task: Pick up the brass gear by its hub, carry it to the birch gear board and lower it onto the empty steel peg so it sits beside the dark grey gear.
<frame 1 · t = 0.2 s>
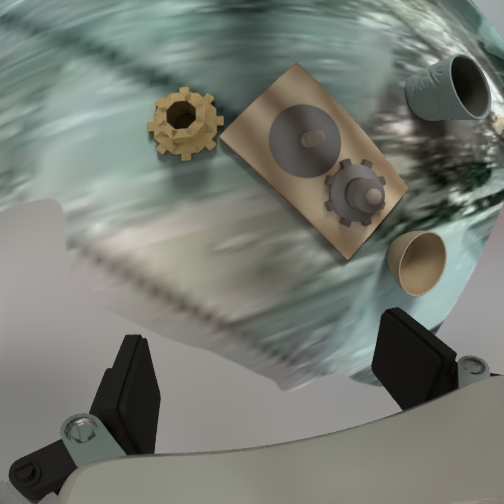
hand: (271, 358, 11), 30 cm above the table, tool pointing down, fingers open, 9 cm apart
gear board: (322, 161, 39), on the table
flower pot: (398, 251, 45), on the table
brass gear: (185, 124, 35), on the table
grey cup: (422, 95, 39), on the table
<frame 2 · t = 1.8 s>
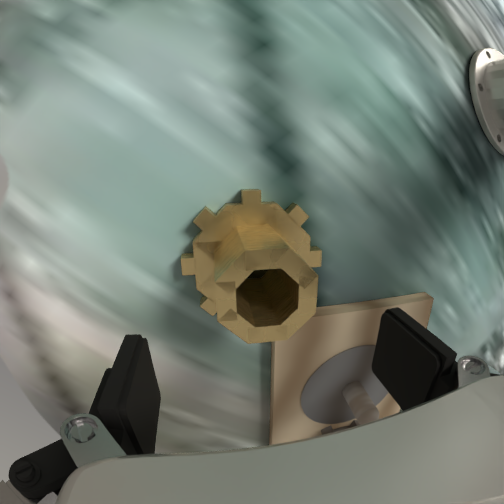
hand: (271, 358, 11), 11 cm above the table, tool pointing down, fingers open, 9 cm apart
gear board: (339, 405, 27), on the table
brass gear: (251, 257, 22), on the table
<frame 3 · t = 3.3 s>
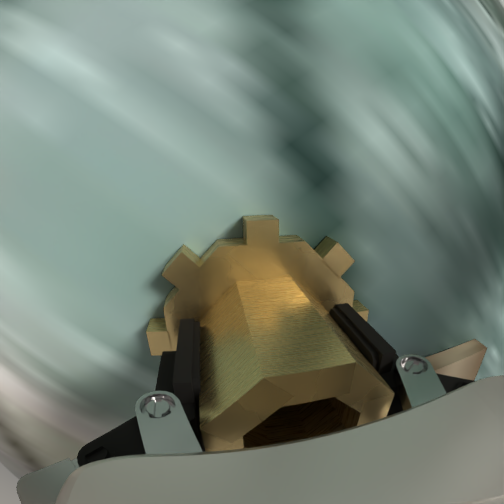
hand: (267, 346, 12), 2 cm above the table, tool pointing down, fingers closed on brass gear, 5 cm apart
gear board: (362, 470, 19), on the table
brass gear: (259, 323, 13), on the table, touching gripper
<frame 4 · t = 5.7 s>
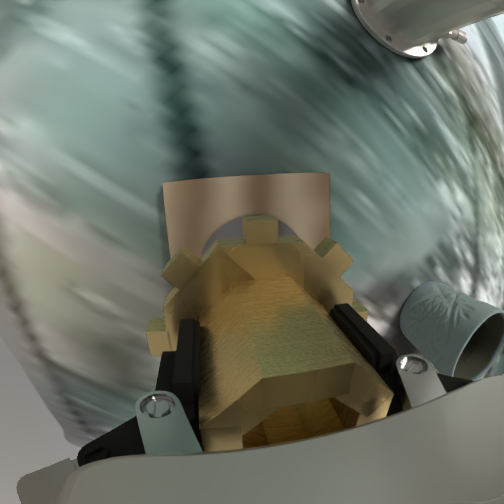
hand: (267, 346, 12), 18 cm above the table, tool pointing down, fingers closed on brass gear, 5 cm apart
gear board: (253, 301, 30), on the table
brass gear: (258, 323, 13), point 16 cm above the table, touching gripper
grey cup: (424, 308, 35), on the table
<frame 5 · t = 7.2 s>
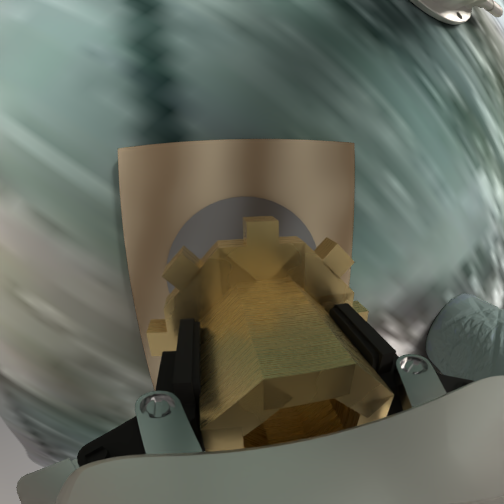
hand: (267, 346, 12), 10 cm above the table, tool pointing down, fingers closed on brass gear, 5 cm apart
gear board: (243, 318, 22), on the table
brass gear: (259, 323, 13), point 8 cm above the table, touching gripper
grey cup: (453, 326, 26), on the table
when the fingers open (5 cm above the table, at t = 8.5 s): brass gear drops 1 cm, resting on gear board.
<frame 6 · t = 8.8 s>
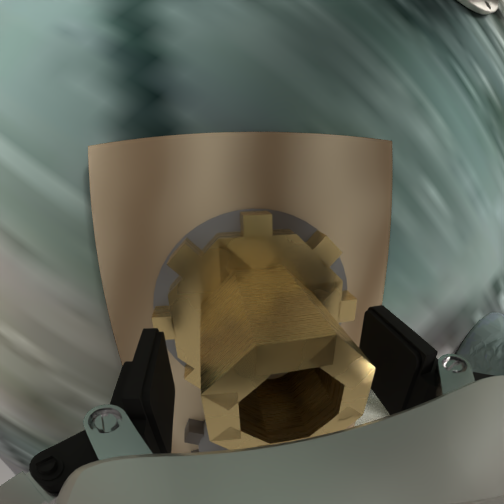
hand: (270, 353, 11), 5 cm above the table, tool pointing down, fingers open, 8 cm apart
gear board: (251, 356, 17), on the table
brass gear: (255, 310, 15), point 2 cm above the table, touching gear board
grey cup: (479, 347, 22), on the table
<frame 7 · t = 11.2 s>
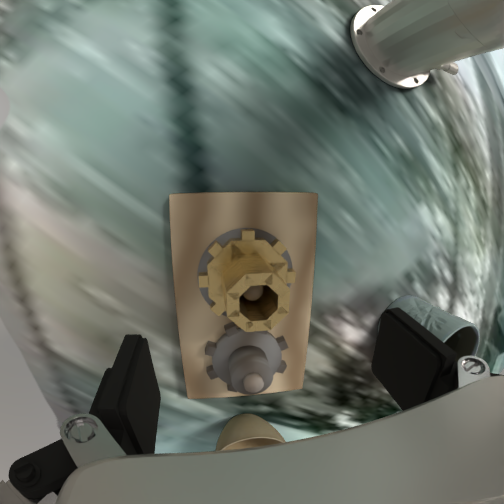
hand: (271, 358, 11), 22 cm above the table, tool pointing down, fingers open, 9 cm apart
gear board: (244, 304, 34), on the table
flower pot: (244, 423, 39), on the table
brass gear: (246, 275, 31), point 2 cm above the table, touching gear board
grey cup: (401, 320, 39), on the table
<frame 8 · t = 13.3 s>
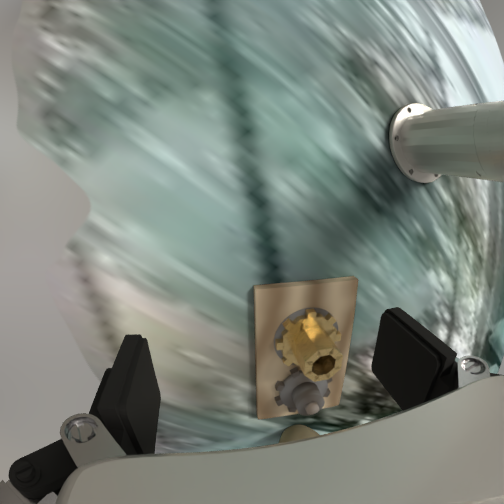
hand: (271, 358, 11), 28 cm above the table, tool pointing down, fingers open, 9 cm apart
gear board: (302, 353, 45), on the table
flower pot: (294, 431, 50), on the table
brass gear: (307, 338, 42), point 2 cm above the table, touching gear board
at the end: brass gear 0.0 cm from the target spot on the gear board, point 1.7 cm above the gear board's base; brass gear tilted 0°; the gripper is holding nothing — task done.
